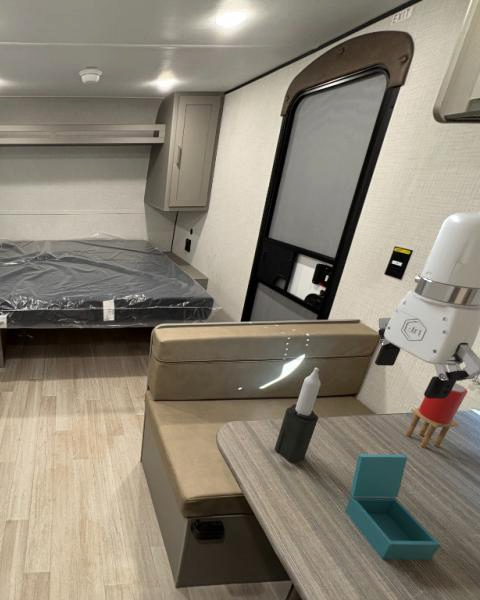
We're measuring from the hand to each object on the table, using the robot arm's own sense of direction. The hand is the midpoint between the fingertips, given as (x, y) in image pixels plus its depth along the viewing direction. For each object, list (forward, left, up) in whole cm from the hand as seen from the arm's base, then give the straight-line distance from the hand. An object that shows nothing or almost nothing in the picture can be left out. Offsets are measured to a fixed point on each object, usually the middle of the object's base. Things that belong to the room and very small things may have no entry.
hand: (407, 379), depth 58 cm
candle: (+11, -7, -29) cm, 32 cm away
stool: (-24, -21, -29) cm, 43 cm away
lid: (+1, +5, -19) cm, 20 cm away
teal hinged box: (0, +9, -29) cm, 30 cm away
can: (-24, -21, -21) cm, 38 cm away
